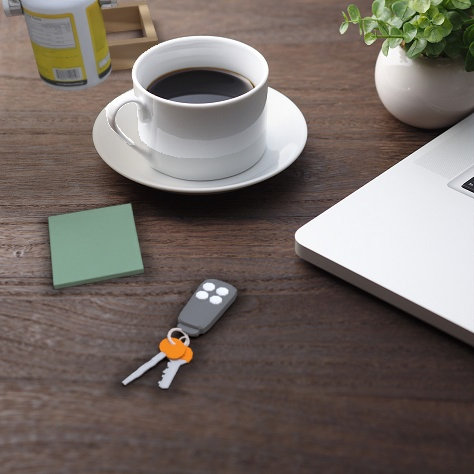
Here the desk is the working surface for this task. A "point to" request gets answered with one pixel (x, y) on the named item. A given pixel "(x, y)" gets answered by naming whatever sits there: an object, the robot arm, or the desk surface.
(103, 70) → the pill bottle
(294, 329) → the desk surface
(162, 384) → the key chain
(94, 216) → the green mat
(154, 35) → the brown shallow square frame
